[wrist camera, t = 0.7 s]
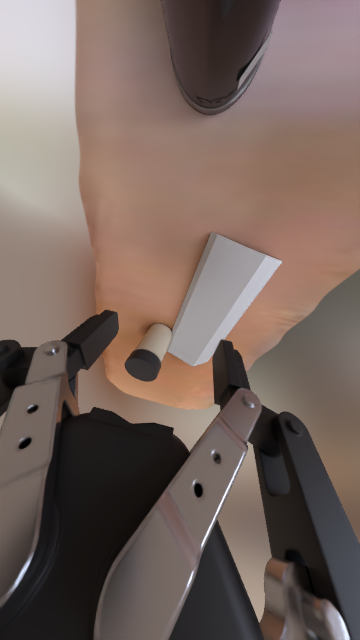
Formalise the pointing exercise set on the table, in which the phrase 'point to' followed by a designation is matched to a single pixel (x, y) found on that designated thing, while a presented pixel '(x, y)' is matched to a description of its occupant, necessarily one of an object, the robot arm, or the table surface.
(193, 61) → the robot arm
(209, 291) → the crown molding
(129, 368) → the jar lid
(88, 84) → the table surface
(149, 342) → the coffee jar
